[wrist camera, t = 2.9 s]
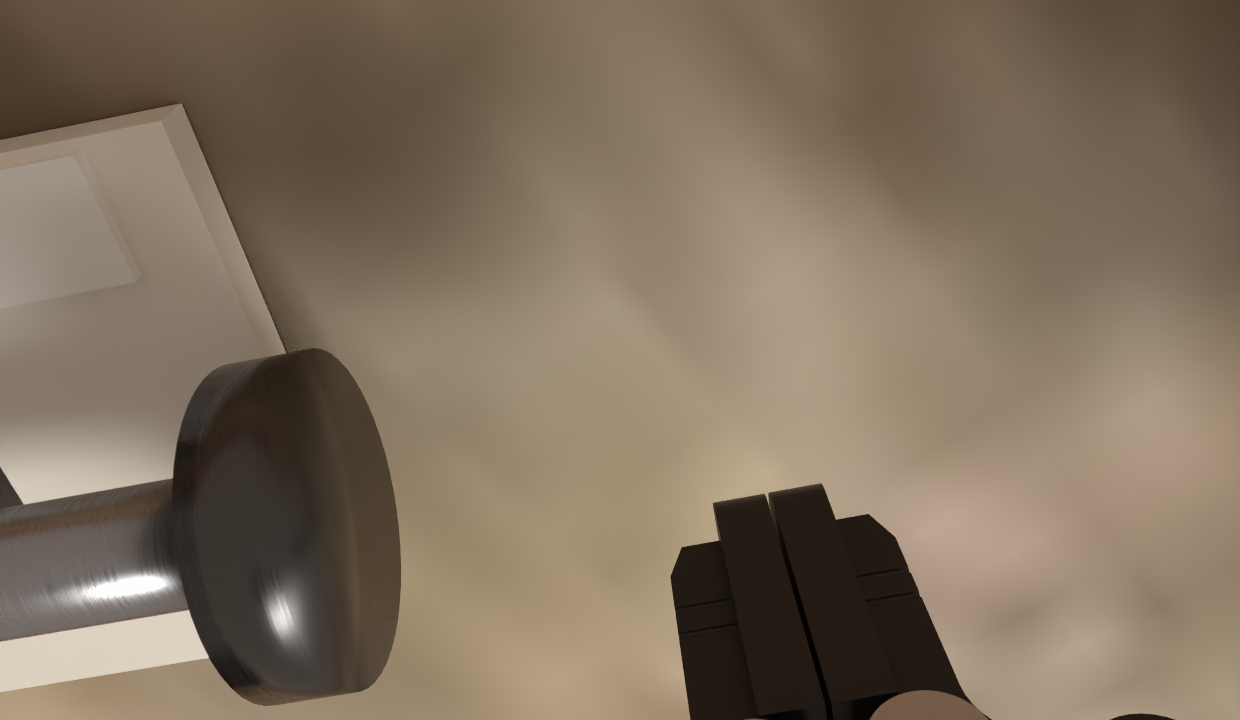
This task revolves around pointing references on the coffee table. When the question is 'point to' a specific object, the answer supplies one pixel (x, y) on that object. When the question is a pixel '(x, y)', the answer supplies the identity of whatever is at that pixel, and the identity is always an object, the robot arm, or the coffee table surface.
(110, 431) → the gauge body
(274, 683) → the plunger
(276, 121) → the coffee table surface
